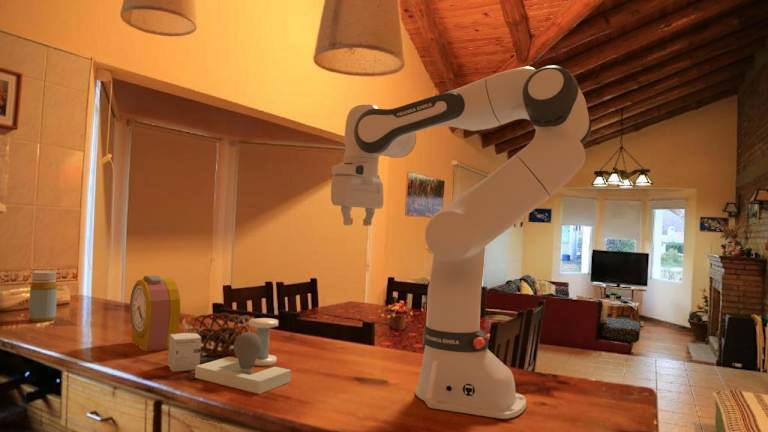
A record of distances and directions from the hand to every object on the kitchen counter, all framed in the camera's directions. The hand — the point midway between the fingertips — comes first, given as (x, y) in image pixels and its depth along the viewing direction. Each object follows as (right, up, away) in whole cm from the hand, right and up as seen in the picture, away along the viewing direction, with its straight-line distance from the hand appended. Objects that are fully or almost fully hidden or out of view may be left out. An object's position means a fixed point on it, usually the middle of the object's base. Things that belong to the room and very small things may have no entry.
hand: (357, 225), depth 134 cm
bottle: (-99, -30, +30) cm, 107 cm away
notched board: (-24, -33, -19) cm, 45 cm away
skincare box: (-39, -33, -12) cm, 52 cm away
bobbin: (-23, -33, -4) cm, 41 cm away
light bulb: (-24, -33, -18) cm, 44 cm away
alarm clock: (-55, -32, +7) cm, 64 cm away
